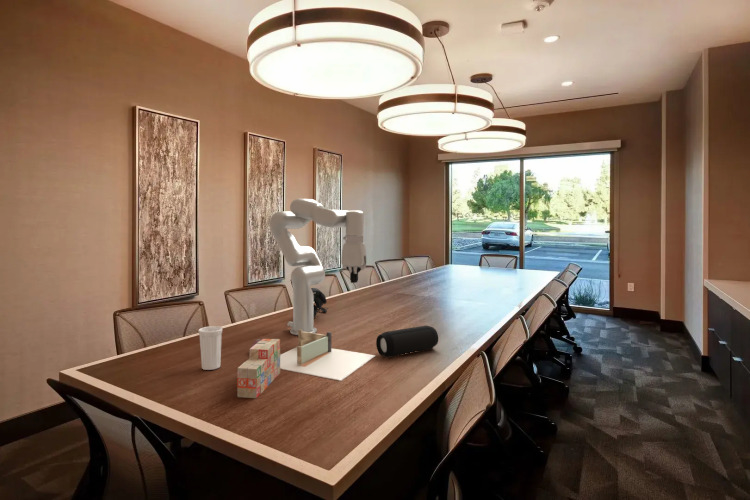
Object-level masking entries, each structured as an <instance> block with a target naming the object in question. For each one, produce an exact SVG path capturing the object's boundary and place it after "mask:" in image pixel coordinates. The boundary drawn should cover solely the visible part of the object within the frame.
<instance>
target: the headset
mask: <svg viewBox="0 0 750 500" xmlns="http://www.w3.org/2000/svg"><path fill="white" fill-rule="evenodd" d="M311 289H312V292H313V296H314V318H316V316H317V313H318V311H319V312H323V313H324V312H326V313H328V309H329V307H323V306H324V305H325V304H327V297H326V296H325V294H324V293H323V292H322V291H321V290H320V289H319V288H316V287H312V288H311Z"/></svg>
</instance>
